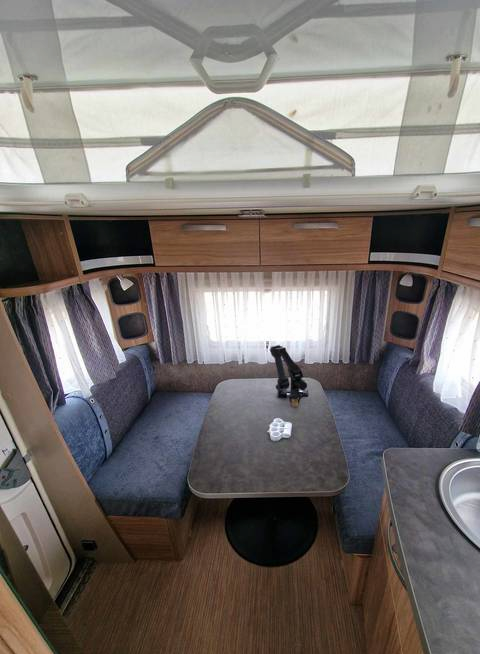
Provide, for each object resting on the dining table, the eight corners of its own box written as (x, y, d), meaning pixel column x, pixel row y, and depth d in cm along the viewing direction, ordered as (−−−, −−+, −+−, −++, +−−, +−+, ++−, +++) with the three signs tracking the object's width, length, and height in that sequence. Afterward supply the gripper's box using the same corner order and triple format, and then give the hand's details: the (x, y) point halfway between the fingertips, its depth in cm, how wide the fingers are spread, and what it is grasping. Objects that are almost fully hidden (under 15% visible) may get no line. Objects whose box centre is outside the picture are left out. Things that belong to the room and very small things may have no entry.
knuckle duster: (289, 442, 167) (265, 440, 169) (292, 423, 183) (269, 421, 185) (289, 437, 165) (265, 435, 167) (292, 419, 181) (269, 417, 184)
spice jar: (291, 407, 199) (291, 397, 195) (291, 403, 203) (291, 393, 200) (297, 407, 198) (298, 397, 195) (298, 403, 202) (298, 394, 199)
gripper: (280, 389, 187) (280, 409, 194) (308, 390, 185) (308, 410, 191) (281, 381, 197) (282, 400, 204) (308, 382, 195) (308, 401, 201)
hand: (294, 403), depth 200 cm, fingers closed on spice jar, 4 cm apart
